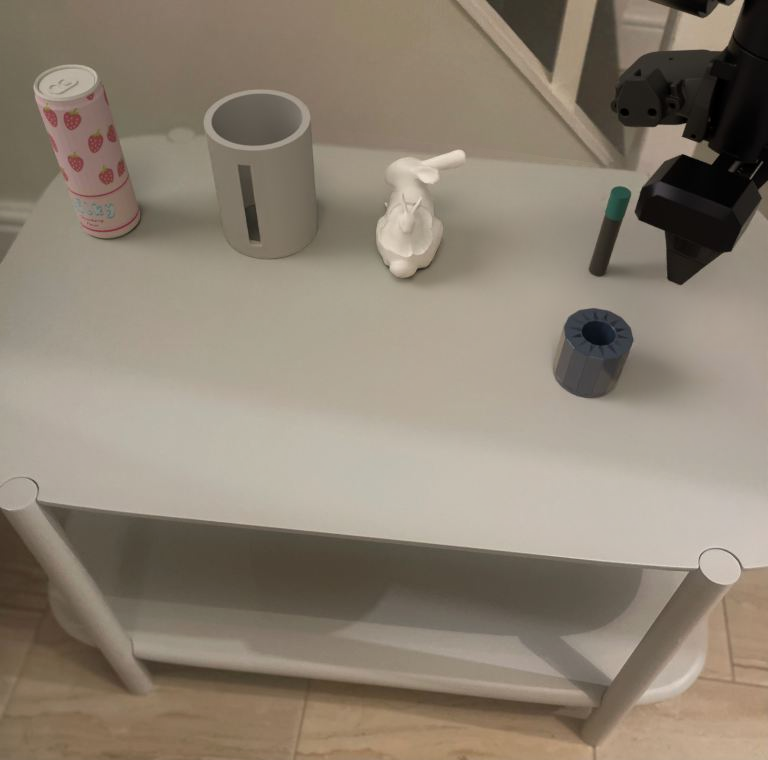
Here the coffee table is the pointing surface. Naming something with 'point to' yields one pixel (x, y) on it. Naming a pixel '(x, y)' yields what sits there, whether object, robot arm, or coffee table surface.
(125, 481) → the coffee table surface
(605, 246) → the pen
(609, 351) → the pen cup
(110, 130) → the beverage can
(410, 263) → the rabbit figurine
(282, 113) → the cup
